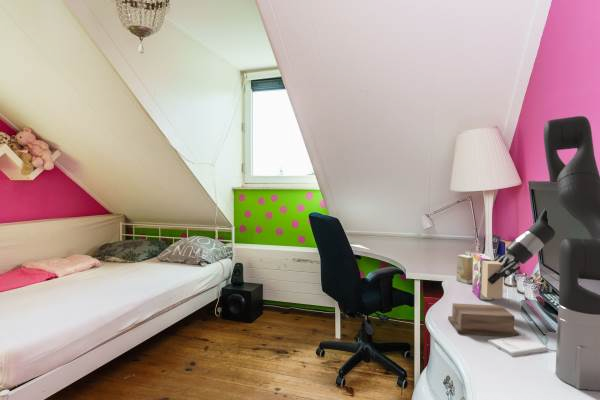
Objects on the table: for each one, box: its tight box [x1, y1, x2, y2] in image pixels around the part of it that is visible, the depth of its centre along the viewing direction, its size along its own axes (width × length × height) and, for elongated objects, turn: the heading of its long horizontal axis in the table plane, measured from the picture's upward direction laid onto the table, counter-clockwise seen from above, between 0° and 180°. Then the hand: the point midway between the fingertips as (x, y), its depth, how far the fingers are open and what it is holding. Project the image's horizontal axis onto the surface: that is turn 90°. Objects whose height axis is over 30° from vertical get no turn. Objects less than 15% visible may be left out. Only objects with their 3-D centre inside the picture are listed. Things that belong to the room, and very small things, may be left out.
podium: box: [447, 302, 520, 338], centre depth 113 cm, size 11×17×6 cm, turn 82°
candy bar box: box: [471, 253, 494, 301], centre depth 145 cm, size 11×5×16 cm, turn 168°
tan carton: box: [482, 261, 504, 300], centre depth 125 cm, size 5×5×12 cm
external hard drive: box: [487, 335, 549, 357], centre depth 101 cm, size 2×8×12 cm
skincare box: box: [455, 254, 473, 285], centre depth 166 cm, size 6×4×12 cm
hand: (486, 280), depth 125 cm, fingers closed on tan carton, 5 cm apart
